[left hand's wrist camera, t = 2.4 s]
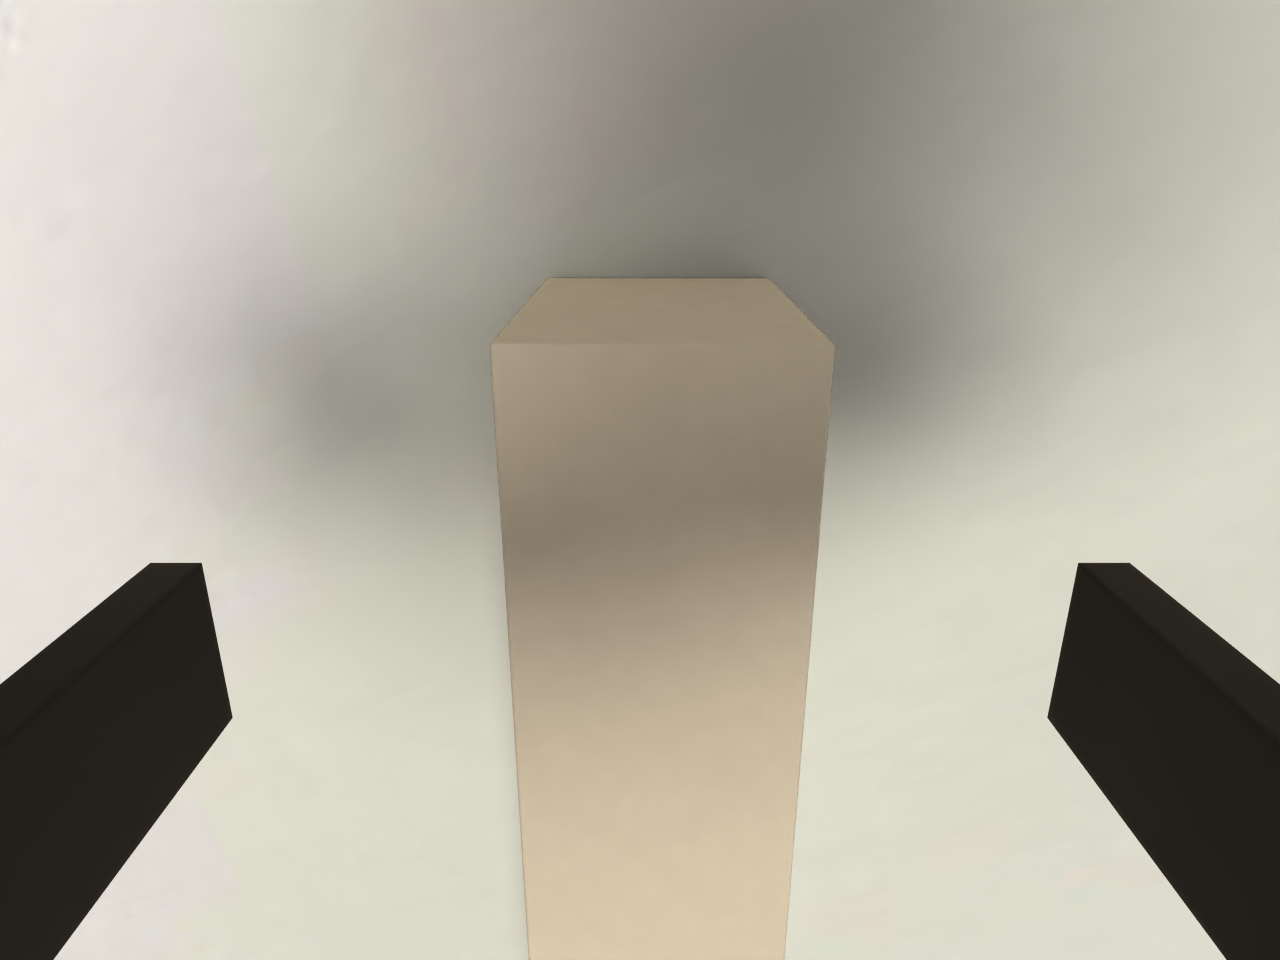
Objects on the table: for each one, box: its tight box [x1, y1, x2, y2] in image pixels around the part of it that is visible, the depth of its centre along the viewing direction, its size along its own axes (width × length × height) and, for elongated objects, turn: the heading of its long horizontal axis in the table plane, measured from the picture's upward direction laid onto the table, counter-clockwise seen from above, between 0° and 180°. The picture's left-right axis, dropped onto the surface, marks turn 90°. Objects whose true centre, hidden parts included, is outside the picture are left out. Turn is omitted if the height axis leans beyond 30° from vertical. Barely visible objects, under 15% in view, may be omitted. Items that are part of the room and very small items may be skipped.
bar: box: [490, 278, 835, 960], centre depth 23 cm, size 25×6×9 cm, turn 0°
